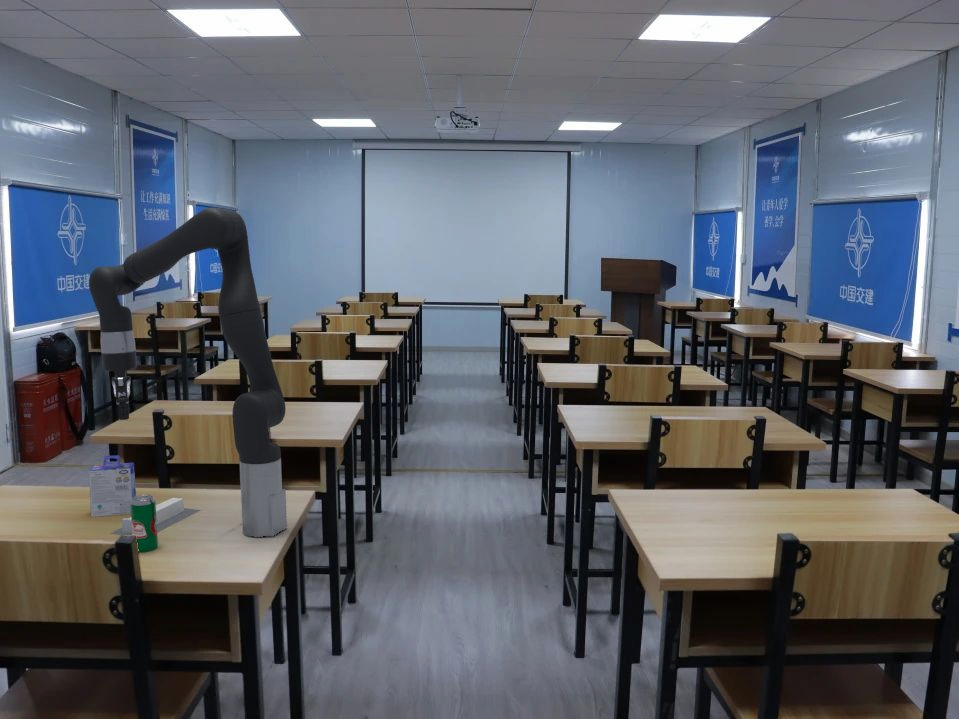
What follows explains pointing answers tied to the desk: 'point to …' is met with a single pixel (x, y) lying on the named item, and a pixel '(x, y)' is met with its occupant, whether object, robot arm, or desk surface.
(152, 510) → the soda can
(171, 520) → the mat
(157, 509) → the white square rod
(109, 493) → the ink cartridge box
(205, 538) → the desk surface
